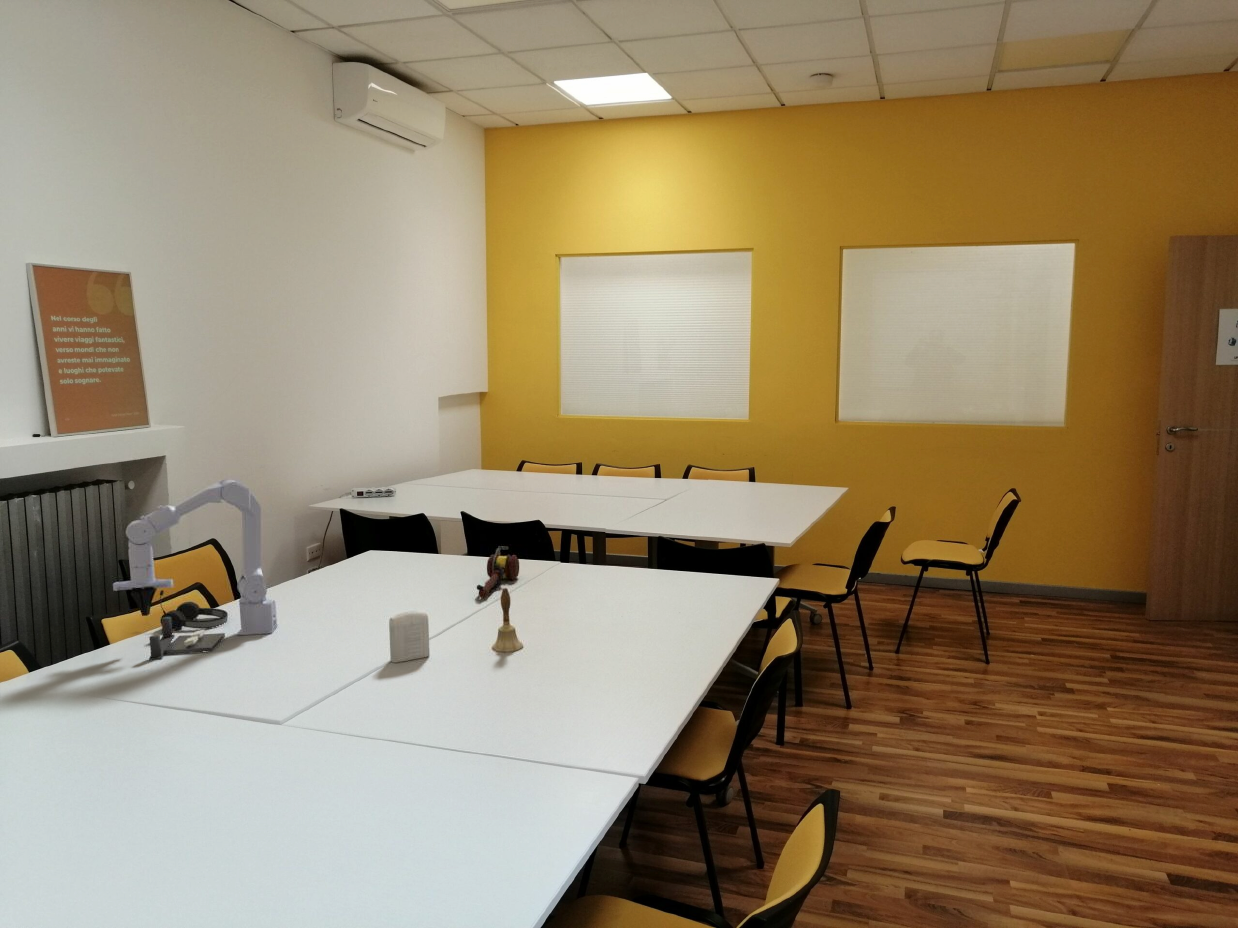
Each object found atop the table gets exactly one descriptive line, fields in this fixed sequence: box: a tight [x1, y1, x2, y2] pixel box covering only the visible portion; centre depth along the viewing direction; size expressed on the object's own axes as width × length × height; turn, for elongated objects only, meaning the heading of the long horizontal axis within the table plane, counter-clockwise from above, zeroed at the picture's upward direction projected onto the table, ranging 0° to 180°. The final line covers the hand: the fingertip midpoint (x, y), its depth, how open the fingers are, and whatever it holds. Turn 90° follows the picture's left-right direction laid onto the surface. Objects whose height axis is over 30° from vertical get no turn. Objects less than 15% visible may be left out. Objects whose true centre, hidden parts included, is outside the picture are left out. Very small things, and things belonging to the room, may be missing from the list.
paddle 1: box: [184, 636, 198, 646], centre depth 248 cm, size 2×4×1 cm, turn 9°
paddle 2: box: [190, 629, 206, 637], centre depth 254 cm, size 2×4×1 cm, turn 9°
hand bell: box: [491, 587, 524, 653], centre depth 244 cm, size 8×8×16 cm
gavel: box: [476, 545, 520, 599], centre depth 309 cm, size 10×34×10 cm
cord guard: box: [148, 617, 175, 662], centre depth 250 cm, size 3×21×6 cm, turn 18°
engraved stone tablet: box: [388, 610, 430, 664], centre depth 237 cm, size 10×4×12 cm, turn 123°
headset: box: [159, 590, 229, 631], centre depth 272 cm, size 14×10×20 cm
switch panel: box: [164, 632, 226, 656], centre depth 251 cm, size 12×13×1 cm
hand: (145, 614), depth 248 cm, fingers closed
